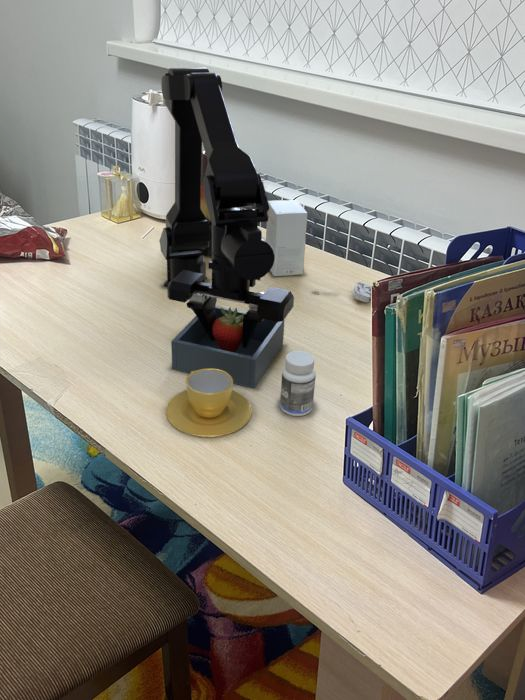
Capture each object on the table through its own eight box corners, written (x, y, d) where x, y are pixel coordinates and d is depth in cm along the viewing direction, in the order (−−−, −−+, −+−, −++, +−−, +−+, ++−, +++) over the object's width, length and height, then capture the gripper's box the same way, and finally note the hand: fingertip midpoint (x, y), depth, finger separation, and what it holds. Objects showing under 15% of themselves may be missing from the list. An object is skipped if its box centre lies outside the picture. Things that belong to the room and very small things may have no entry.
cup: (267, 422, 96) (269, 390, 93) (190, 449, 90) (189, 415, 88) (225, 380, 105) (225, 350, 102) (152, 402, 99) (150, 370, 96)
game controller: (381, 303, 129) (383, 291, 128) (322, 306, 127) (323, 294, 126) (372, 290, 134) (374, 278, 133) (314, 293, 132) (315, 280, 131)
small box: (303, 275, 139) (308, 212, 132) (272, 276, 138) (276, 214, 131) (293, 259, 146) (297, 199, 139) (264, 260, 144) (266, 200, 138)
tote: (171, 369, 107) (171, 341, 104) (207, 329, 118) (207, 303, 115) (254, 388, 103) (255, 360, 101) (282, 346, 114) (284, 319, 112)
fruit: (247, 361, 109) (249, 316, 105) (213, 363, 108) (213, 318, 104) (243, 344, 113) (244, 301, 109) (210, 346, 112) (210, 302, 108)
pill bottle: (278, 398, 101) (281, 348, 97) (309, 397, 102) (314, 348, 97) (281, 417, 97) (284, 366, 93) (314, 416, 98) (319, 366, 93)
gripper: (307, 243, 105) (300, 332, 113) (195, 223, 110) (196, 310, 118) (285, 270, 96) (279, 365, 104) (164, 248, 101) (167, 340, 109)
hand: (229, 343), depth 109 cm, fingers closed on fruit, 5 cm apart
